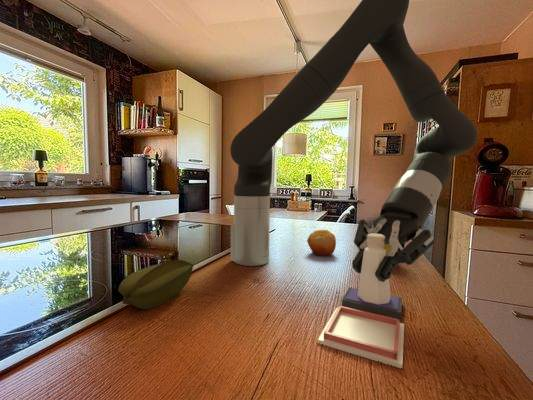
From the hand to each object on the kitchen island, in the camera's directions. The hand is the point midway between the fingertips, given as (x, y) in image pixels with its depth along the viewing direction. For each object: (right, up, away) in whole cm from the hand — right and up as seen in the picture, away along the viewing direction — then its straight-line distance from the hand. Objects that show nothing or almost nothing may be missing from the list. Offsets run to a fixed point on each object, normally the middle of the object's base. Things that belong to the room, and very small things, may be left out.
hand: (367, 274), depth 45 cm
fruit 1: (-36, -6, +3) cm, 36 cm away
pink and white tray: (-3, -6, -7) cm, 10 cm away
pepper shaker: (+2, -5, +1) cm, 5 cm away
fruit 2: (-1, -4, +33) cm, 33 cm away
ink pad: (+1, -6, +1) cm, 6 cm away
